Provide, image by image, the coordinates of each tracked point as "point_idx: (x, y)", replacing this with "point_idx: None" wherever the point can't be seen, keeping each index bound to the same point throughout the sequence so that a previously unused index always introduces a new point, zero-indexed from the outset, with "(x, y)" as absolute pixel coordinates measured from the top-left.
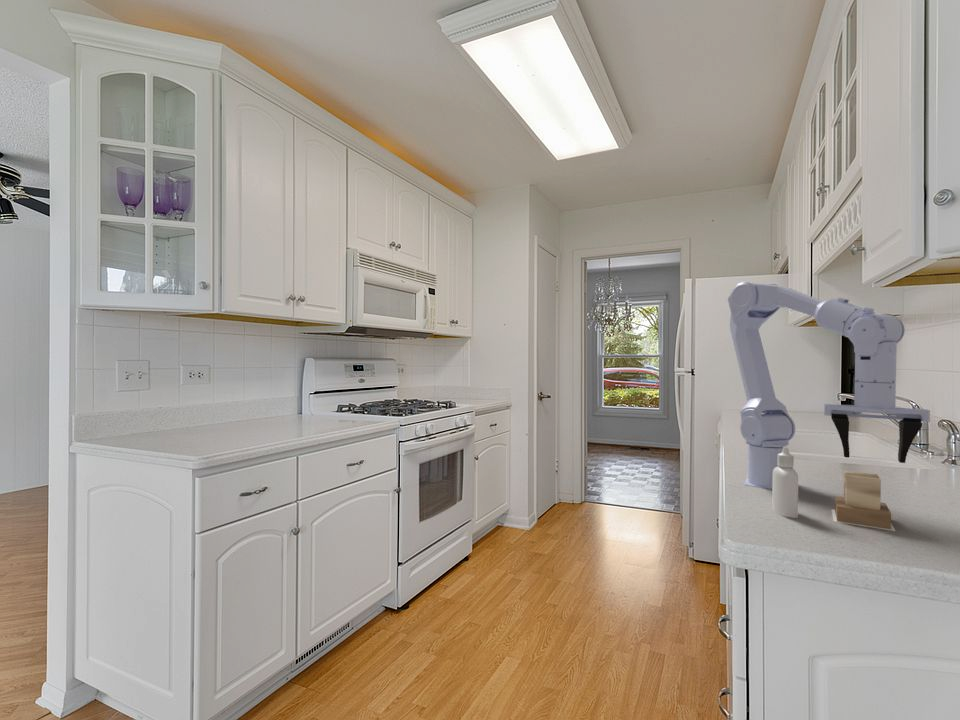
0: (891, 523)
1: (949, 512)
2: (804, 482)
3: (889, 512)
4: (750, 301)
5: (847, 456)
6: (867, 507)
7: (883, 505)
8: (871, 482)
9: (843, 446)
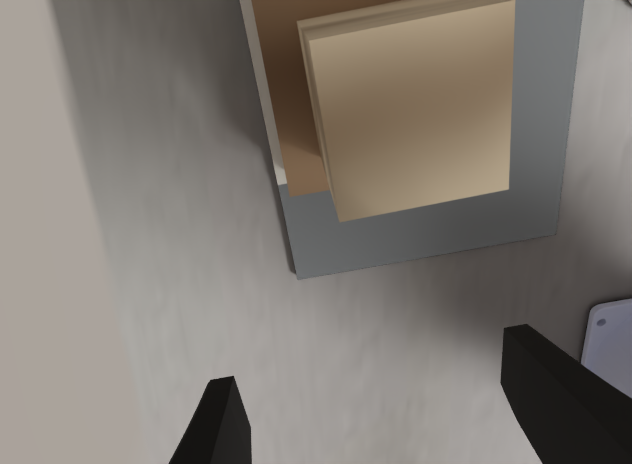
0: (259, 94)
1: (144, 412)
2: (520, 459)
3: (257, 4)
4: None
5: (517, 328)
6: (350, 11)
7: (292, 143)
8: (358, 26)
9: (585, 368)
